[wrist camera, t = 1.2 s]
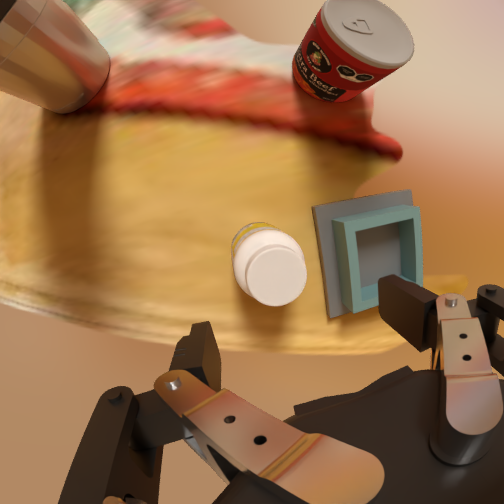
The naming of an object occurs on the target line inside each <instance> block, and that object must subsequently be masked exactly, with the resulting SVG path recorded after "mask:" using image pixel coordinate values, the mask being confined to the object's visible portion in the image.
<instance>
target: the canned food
mask: <svg viewBox="0 0 504 504" xmlns="http://www.w3.org/2000/svg"><path fill="white" fill-rule="evenodd" d="M413 53H414V42H413V38H412V35H411V33H410V31H409V29H408V28H407V26H406V24H405V23H404V22H403V20H402V19H401V18H400V17H399V16H398V15H397V14H396V13H395V12H394V11H393V10H392V9H390V8H389V7H388V6H386V5H385V4H383V3H382V2H380V1H378V0H327V1H326V2H325V3H324V4H323V6H322V7H321V9H320V11H319V12H318V14H317V15H316V17H315V19H314V21H313V23H312V24H311V26H310V28H309V30H308V31H307V33H306V35H305V37H304V39H303V40H302V42H301V44H300V46H299V48H298V50H297V51H296V53H295V55H294V58H293V61H292V69H293V74H294V77H295V79H296V81H297V83H298V84H299V86H300V87H301V88H302V89H303V90H304V91H305V92H306V93H308V94H309V95H310V96H312V97H314V98H316V99H318V100H322V101H325V102H343V101H347V100H350V99H352V98H353V97H355V96H356V95H358V94H359V93H361V92H363V91H364V90H366V89H367V88H369V87H370V86H372V85H373V84H375V83H377V82H378V81H380V80H381V79H383V78H384V77H386V76H388V75H389V74H391V73H393V72H394V71H396V70H397V69H399V68H400V67H402V66H403V65H405V64H406V63H407V62H408V61H409V60H410V59H411V58H412V56H413Z"/></svg>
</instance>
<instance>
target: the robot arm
mask: <svg viewBox="0 0 504 504" xmlns="http://www.w3.org/2000/svg"><path fill="white" fill-rule="evenodd" d="M109 67H110V58H109V55H108V52H107V51H106V50H105V49H104V47H103V46H102V45H101V44H100V43H99V42H98V39H97V38H96V37H95V35H94V34H93V33H92V32H91V31H90V30H89V29H88V27H87V26H86V25H85V24H84V23H83V22H82V21H81V19H80V18H79V17H78V16H77V15H76V14H75V13H74V12H73V10H72V9H71V8H70V7H69V6H68V5H67V4H66V3H65V2H63V1H62V0H0V91H2V92H5V93H8V94H10V95H13V96H16V97H18V98H21V99H23V100H26V101H28V102H31V103H33V104H36V105H38V106H41V107H43V108H46V109H48V110H51V111H53V112H55V113H60V114H65V113H70V112H73V111H76V110H78V109H79V108H81V107H83V106H84V105H85V104H87V103H88V102H89V101H90V100H91V99H92V98H93V97H94V96H95V95H96V94H97V93H98V91H99V90H100V88H101V87H102V85H103V84H104V82H105V80H106V78H107V75H108V72H109ZM378 303H379V313H380V316H381V318H382V319H383V320H384V321H385V322H386V323H387V324H388V325H389V326H391V327H392V328H393V329H394V330H395V331H396V332H398V333H399V334H400V335H401V336H402V337H403V338H405V339H406V340H407V341H408V342H409V343H410V344H411V345H413V346H414V347H415V348H416V349H417V350H418V351H419V352H422V351H425V350H427V349H429V348H432V349H431V356H430V370H420V371H414V372H413V371H412V370H411V369H410V368H409V367H408V366H405V367H403V368H400V369H399V370H396V371H394V372H392V373H389V374H387V375H384V376H382V377H381V378H379V379H378V380H377V381H375V382H373V383H372V384H370V385H369V386H367V387H365V388H364V389H362V390H360V391H358V392H355V393H349V394H343V395H336V396H330V397H323V398H320V399H317V400H313V401H310V402H306V403H302V404H299V405H295V406H294V411H295V415H293V416H291V417H289V418H288V419H286V420H284V421H281V420H279V419H277V418H275V417H273V416H271V415H270V414H268V413H266V412H264V411H263V410H261V409H259V408H257V407H256V406H254V405H252V404H250V403H249V402H247V401H246V400H244V399H242V398H241V397H239V396H237V395H236V394H234V393H232V392H231V391H229V390H227V389H225V388H224V389H221V358H220V353H219V349H218V346H217V343H216V340H215V337H214V334H213V330H212V327H211V324H210V322H209V321H206V322H201V323H195V324H192V328H191V332H190V335H189V336H183V337H182V338H181V340H180V341H179V342H178V343H177V345H176V349H175V352H174V356H173V358H172V362H171V365H170V368H169V372H166V373H164V374H162V375H161V376H159V377H158V378H157V379H156V381H155V383H154V389H153V390H151V391H148V392H145V393H142V394H138V395H134V393H133V391H132V390H131V389H130V388H128V387H126V386H118V387H114V388H112V389H109V390H108V391H106V392H105V393H104V394H102V396H101V397H100V399H99V401H98V403H97V405H96V407H95V409H94V412H93V414H92V416H91V418H90V421H89V423H88V425H87V428H86V430H85V432H84V435H83V437H82V439H81V442H80V444H79V447H78V449H77V452H76V454H75V457H74V459H73V462H72V465H71V467H70V470H69V473H68V476H67V478H66V481H65V484H64V487H63V490H62V492H61V495H60V499H59V502H58V504H158V496H159V483H160V473H161V464H162V454H163V446H164V445H165V444H168V443H171V442H175V441H178V440H181V439H183V440H184V441H185V442H186V443H187V444H188V445H189V446H190V447H191V448H192V449H193V450H194V451H195V452H196V453H197V454H198V455H199V456H200V457H201V458H202V459H203V460H204V461H205V462H206V463H207V464H208V465H209V466H210V467H211V468H212V469H213V470H214V471H215V472H216V473H217V475H218V476H219V477H220V478H221V479H222V480H223V481H224V482H225V483H226V484H227V485H228V486H227V487H226V488H225V489H224V491H223V492H222V493H221V494H220V495H219V496H218V497H217V499H216V500H215V501H214V502H213V503H212V504H504V380H502V379H498V376H497V374H496V373H493V372H492V369H491V366H492V367H493V368H494V369H496V370H497V371H498V372H499V373H500V374H502V376H504V338H502V337H501V336H500V335H498V334H497V330H498V325H499V321H500V319H501V320H503V321H504V289H503V288H501V287H499V286H497V285H490V284H489V285H483V286H481V287H479V288H478V291H477V298H476V299H473V300H469V301H466V299H465V297H463V296H462V295H459V294H455V293H448V294H443V295H441V296H438V295H436V294H435V293H433V292H431V291H429V290H427V289H426V290H425V288H423V287H420V285H418V284H416V283H414V282H410V281H406V280H404V279H402V278H400V277H398V276H396V275H395V274H391V275H388V276H385V277H381V278H379V280H378Z"/></svg>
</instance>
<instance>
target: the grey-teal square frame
mask: <svg viewBox="0 0 504 504" xmlns="http://www.w3.org/2000/svg"><path fill="white" fill-rule="evenodd" d="M312 211H313V217H314V223H315V229H316V235H317V241H318V247H319V254H320V261H321V268H322V275H323V283H324V290H325V299H326V307H327V315H328V316H329V317H330V318H333V317H337V316H340V315H343V314H346V313H350V312H352V313H353V314H354V313H357V312H360V311H363V310H366V309H369V308H372V307H375V306H378V305H379V303H378V280H379V278H381V277H385V276H388V275H391V274H395V275H396V276H398V277H400V278H402V279H404V280H406V281H410V282H414V283H416V284H418V285H420V287H423V254H422V253H423V249H422V231H421V218H420V207H418V206H413V201H412V192H411V190H408V189H407V190H400V191H394V192H388V193H382V194H376V195H371V196H365V197H359V198H354V199H348V200H343V201H338V202H332V203H327V204H322V205H317V206H312Z"/></svg>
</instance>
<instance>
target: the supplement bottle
mask: <svg viewBox="0 0 504 504" xmlns="http://www.w3.org/2000/svg"><path fill="white" fill-rule="evenodd" d="M231 255H232V262H233V269H234V274H235V278H236V280H237V283H238V284H239V286H240V287H241V289H242V290H243V291H244V292H245V293H247V294H248V295H249V296H251V297H253V298H255V299H256V300H257V301H259V302H260V303H262V304H265V305H268V306H282V305H286V304H288V303H290V302H292V301H293V300H295V299H296V298H297V297H298V296H299V295H300V294H301V292H302V291H303V289H304V287H305V284H306V280H307V270H306V266H305V260H304V255H303V252H302V250H301V248H300V246H299V245H298V243H297V242H296V241H295V240H294V239H293V238H292V237H290V236H289V235H287V234H286V233H284V232H283V231H281V230H279V229H278V228H276V227H274V226H272V225H270V224H267V223H262V222H257V223H251V224H249V225H246V226H245V227H243V228H242V229H240V230H239V231H238V233H237V234H236V235H235V237H234V239H233V242H232V246H231Z"/></svg>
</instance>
